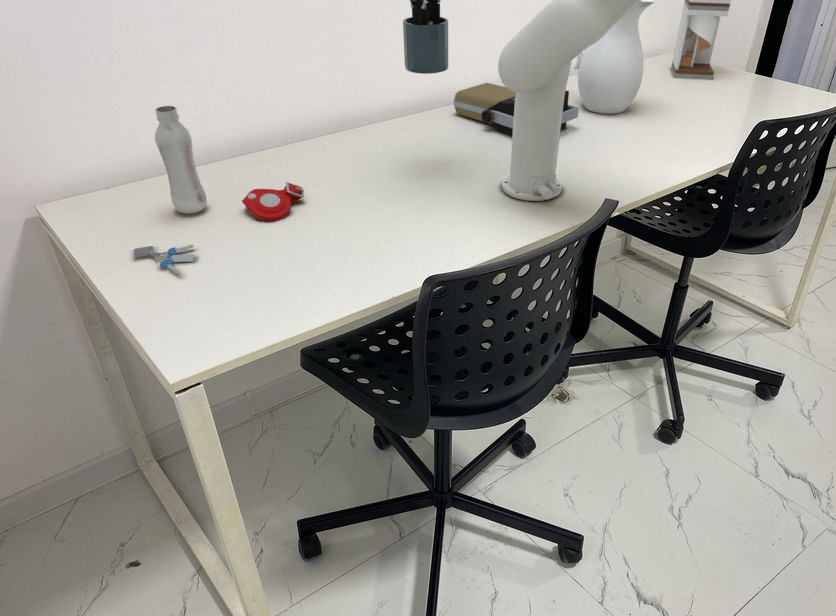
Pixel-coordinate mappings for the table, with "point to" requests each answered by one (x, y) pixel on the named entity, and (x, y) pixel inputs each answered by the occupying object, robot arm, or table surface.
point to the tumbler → (425, 46)
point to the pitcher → (613, 66)
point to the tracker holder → (272, 201)
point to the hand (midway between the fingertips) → (426, 26)
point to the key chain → (166, 263)
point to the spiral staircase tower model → (697, 38)
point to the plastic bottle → (179, 161)
